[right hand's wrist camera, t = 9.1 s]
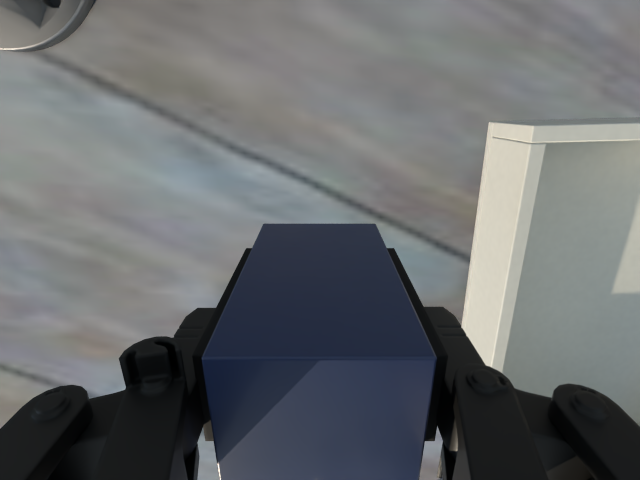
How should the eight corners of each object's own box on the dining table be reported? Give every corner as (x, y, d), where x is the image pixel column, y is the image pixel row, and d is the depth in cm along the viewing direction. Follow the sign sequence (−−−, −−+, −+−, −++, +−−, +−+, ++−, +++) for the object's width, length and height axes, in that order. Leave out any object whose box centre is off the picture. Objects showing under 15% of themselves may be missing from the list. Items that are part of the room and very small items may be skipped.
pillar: (263, 223, 14) (200, 357, 7) (375, 223, 14) (438, 357, 7) (268, 319, 16) (223, 513, 8) (370, 319, 16) (415, 513, 8)
